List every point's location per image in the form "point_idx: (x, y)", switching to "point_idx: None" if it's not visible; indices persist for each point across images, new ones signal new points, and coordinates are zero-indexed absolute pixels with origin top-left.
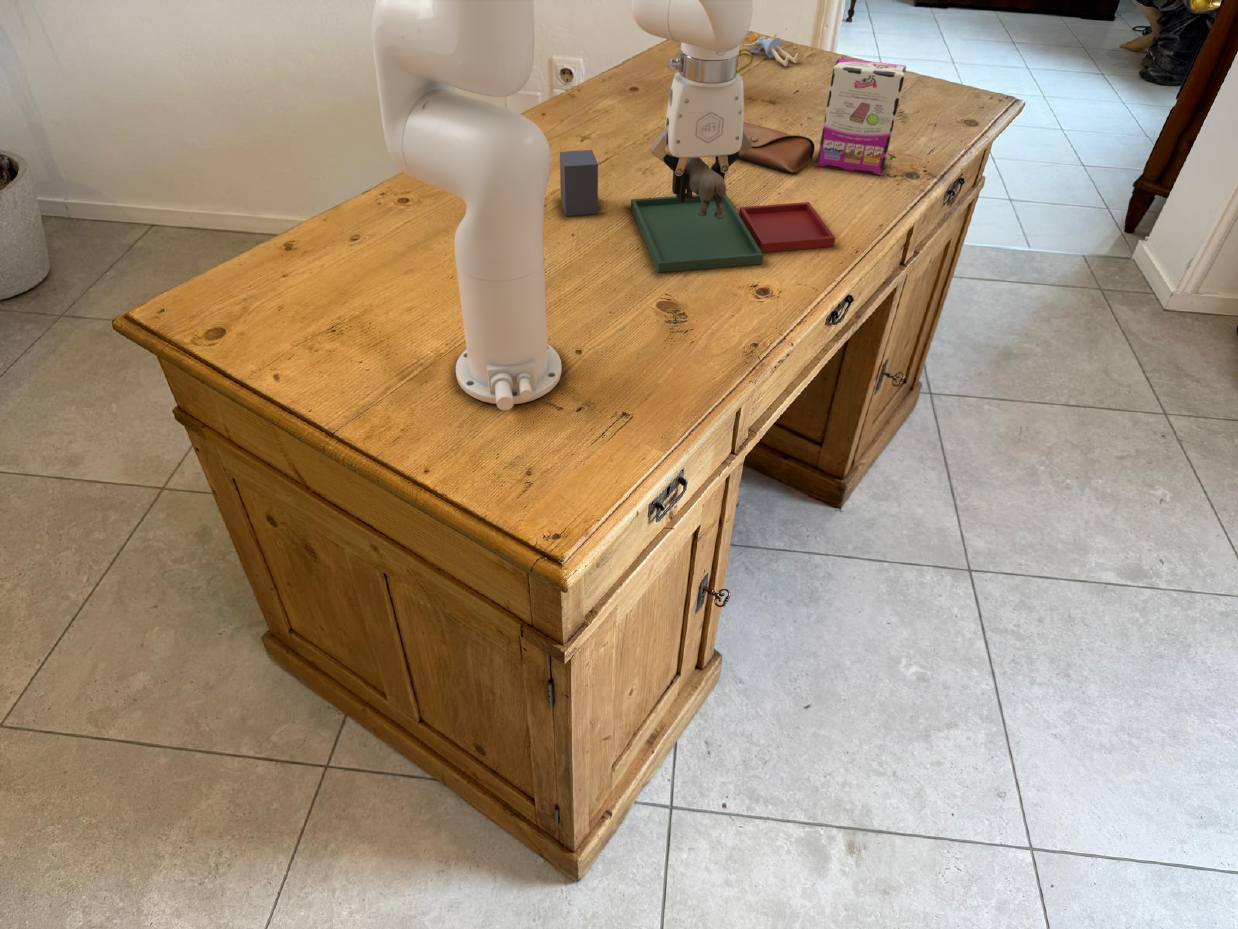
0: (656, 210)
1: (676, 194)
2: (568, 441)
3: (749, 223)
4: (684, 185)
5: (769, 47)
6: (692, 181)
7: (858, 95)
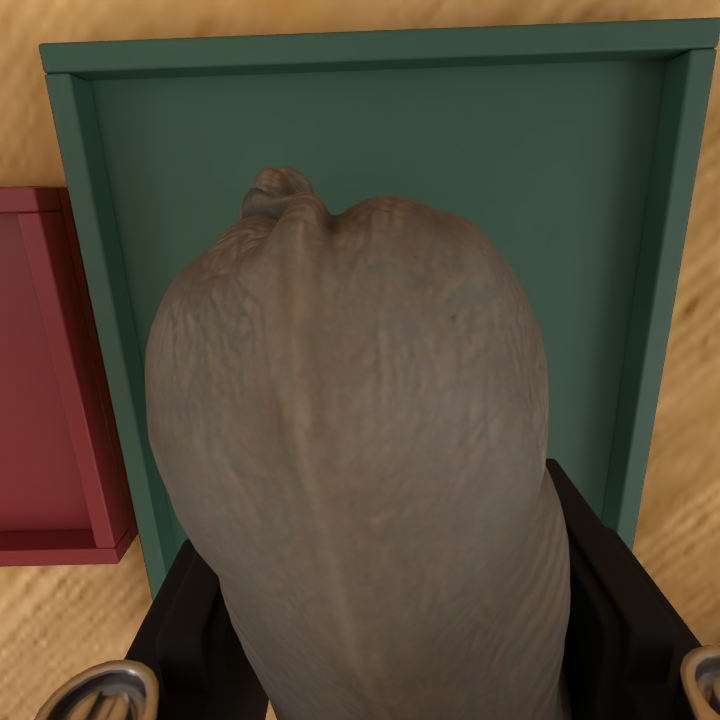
0: None
1: None
2: None
3: (86, 415)
4: (590, 544)
5: None
6: (566, 531)
7: None
